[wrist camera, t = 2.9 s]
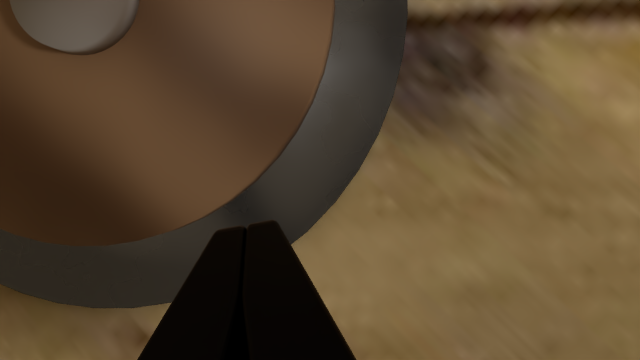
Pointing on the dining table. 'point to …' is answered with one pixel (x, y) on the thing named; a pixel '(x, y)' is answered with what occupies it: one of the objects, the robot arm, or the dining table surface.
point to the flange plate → (147, 109)
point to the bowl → (255, 202)
